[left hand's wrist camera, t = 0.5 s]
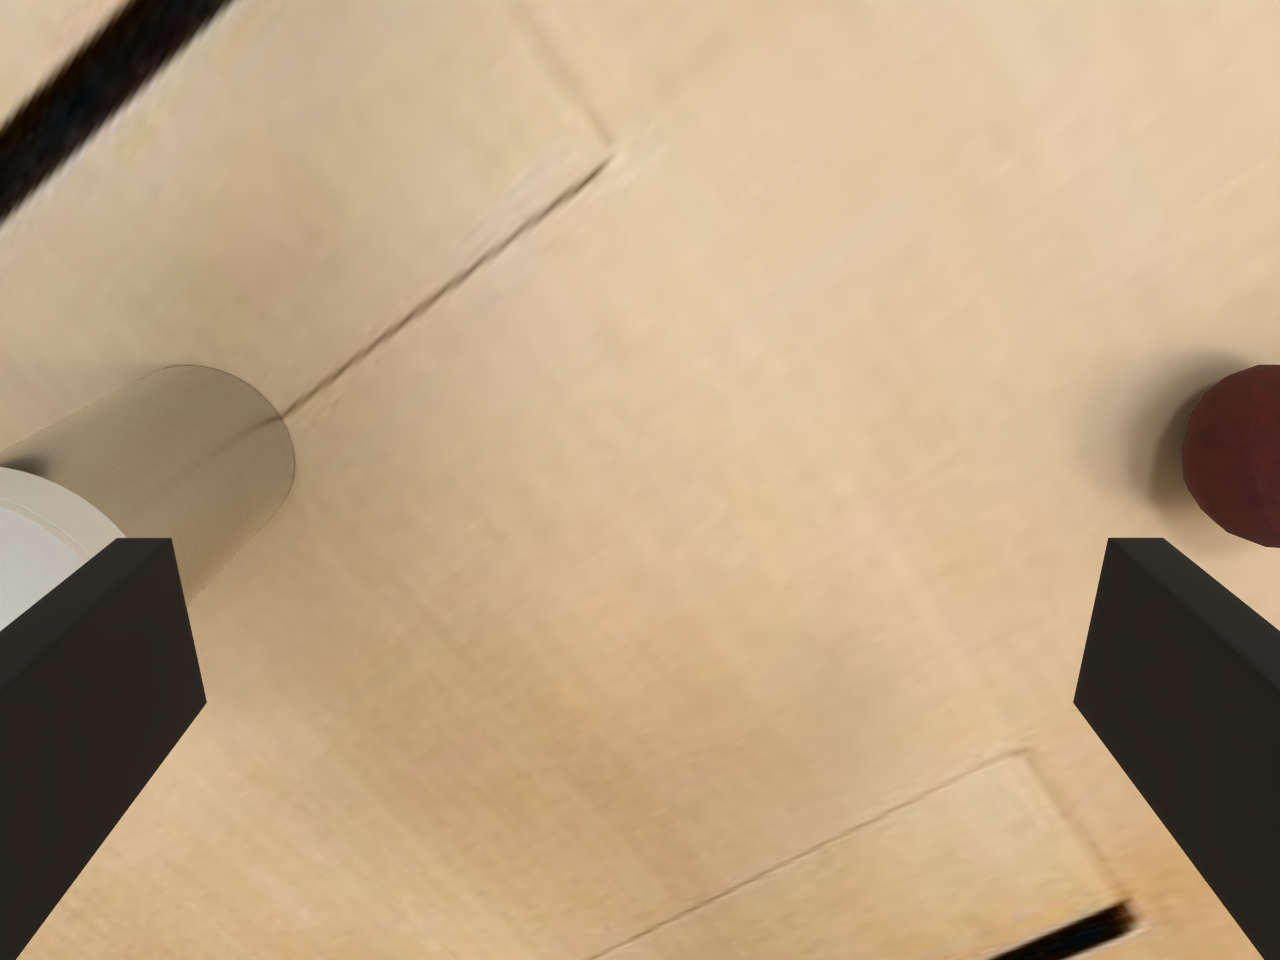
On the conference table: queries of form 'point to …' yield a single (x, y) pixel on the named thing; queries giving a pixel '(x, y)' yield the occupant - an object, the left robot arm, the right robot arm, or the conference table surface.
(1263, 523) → the dark maroon ball
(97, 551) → the lid
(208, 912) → the conference table surface
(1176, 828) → the left robot arm
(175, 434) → the jar
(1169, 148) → the conference table surface
